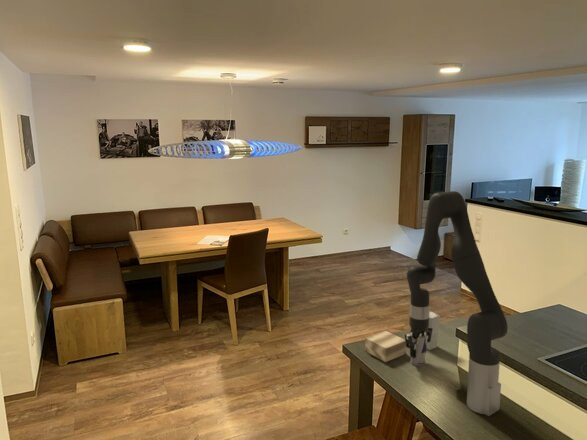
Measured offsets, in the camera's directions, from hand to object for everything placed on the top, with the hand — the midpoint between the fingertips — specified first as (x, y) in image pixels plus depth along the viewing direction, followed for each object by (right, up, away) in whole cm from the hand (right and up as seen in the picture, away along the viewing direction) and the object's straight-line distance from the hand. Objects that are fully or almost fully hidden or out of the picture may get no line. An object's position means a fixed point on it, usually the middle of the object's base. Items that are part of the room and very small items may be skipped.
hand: (418, 354), depth 176 cm
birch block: (-11, -2, +10) cm, 15 cm away
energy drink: (0, -4, +1) cm, 4 cm away
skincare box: (+8, -1, +15) cm, 17 cm away
